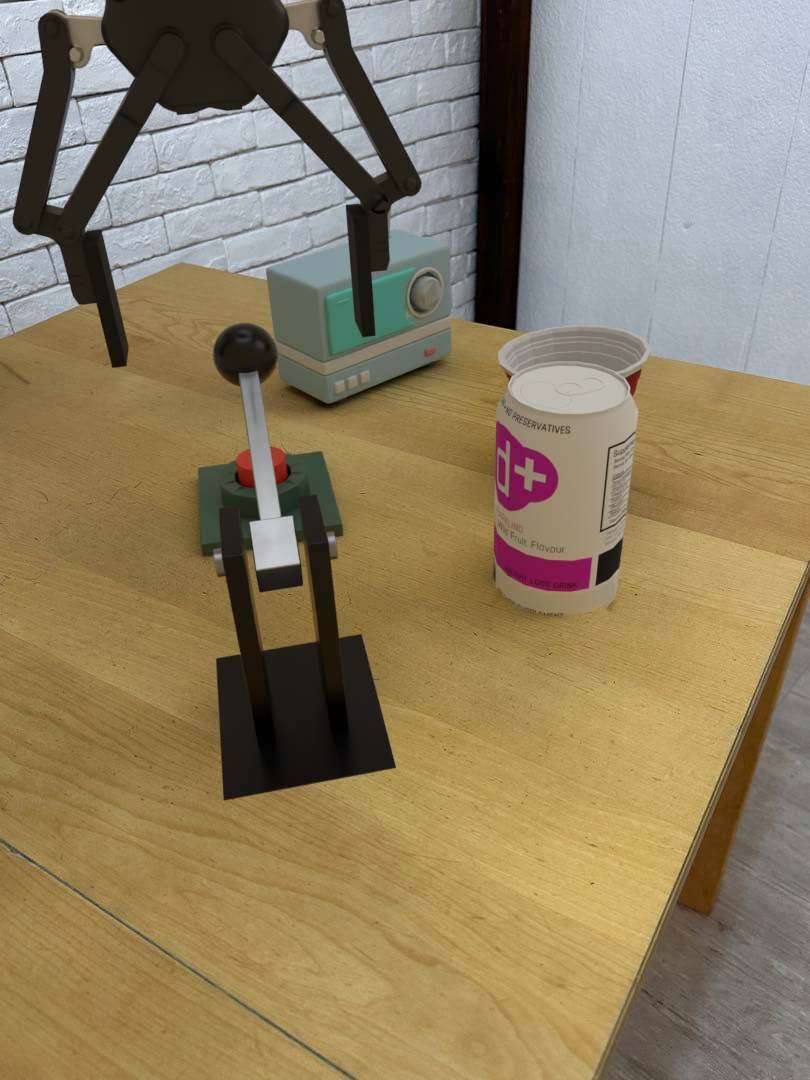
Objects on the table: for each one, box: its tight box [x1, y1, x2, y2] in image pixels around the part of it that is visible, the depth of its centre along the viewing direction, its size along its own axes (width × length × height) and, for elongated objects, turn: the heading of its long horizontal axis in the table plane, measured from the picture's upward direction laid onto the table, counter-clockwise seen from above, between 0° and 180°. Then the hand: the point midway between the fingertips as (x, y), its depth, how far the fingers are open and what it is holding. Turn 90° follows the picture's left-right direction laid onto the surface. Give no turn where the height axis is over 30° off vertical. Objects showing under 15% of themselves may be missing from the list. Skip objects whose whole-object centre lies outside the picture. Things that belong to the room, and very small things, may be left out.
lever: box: [212, 321, 304, 593], centre depth 48 cm, size 16×4×4 cm, turn 12°
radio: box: [265, 207, 452, 405], centre depth 84 cm, size 16×9×20 cm, turn 131°
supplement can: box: [492, 362, 640, 617], centre depth 57 cm, size 8×8×15 cm
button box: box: [197, 450, 344, 557], centre depth 68 cm, size 11×10×4 cm
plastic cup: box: [497, 324, 653, 398], centre depth 68 cm, size 11×11×12 cm
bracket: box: [212, 494, 397, 802], centre depth 48 cm, size 11×9×14 cm
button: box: [235, 445, 288, 488], centre depth 67 cm, size 4×4×2 cm
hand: (245, 343), depth 51 cm, fingers open, 13 cm apart
